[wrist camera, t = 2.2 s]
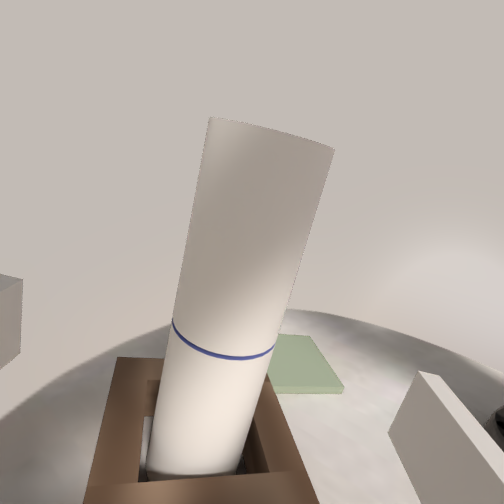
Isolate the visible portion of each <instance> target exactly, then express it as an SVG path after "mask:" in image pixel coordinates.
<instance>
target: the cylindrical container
mask: <svg viewBox="0 0 504 504" xmlns="http://www.w3.org/2000/svg"><path fill="white" fill-rule="evenodd" d="M334 152H335V149H333V148H331V147H329V146H326V145H324V144H321V143H318V142H315V141H312V140H308V139H305V138H302V137H298V136H295V135H291V134H288V133H284V132H280V131H277V130H273V129H269V128H265V127H261V126H256V125H252V124H248V123H243V122H238V121H233V120H228V119H223V118H215V117H214V118H213V117H210V118H209V122H208V128H207V133H206V138H205V144H204V149H203V155H202V161H201V166H200V171H199V177H198V182H197V187H196V193H195V198H194V203H193V209H192V214H191V220H190V225H189V231H188V236H187V242H186V247H185V252H184V257H183V263H182V268H181V274H180V279H179V284H178V290H177V295H176V300H175V306H174V311H173V318H172V322H171V327H170V333H169V338H168V344H167V349H166V354H165V360H164V365H163V371H162V376H161V382H160V387H159V392H158V398H157V403H156V409H155V414H154V419H153V425H152V430H151V436H150V441H149V446H148V452H147V457H146V472H147V477H148V480H149V482H153V481H166V480H179V479H192V478H205V477H218V476H231V475H235V474H236V471H237V467H238V464H239V461H240V458H241V454H242V451H243V448H244V445H245V441H246V438H247V435H248V431H249V428H250V425H251V422H252V418H253V415H254V412H255V409H256V405H257V402H258V399H259V396H260V392H261V389H262V386H263V383H264V379H265V376H266V373H267V370H268V366H269V363H270V360H271V357H272V353H273V350H274V347H275V344H276V340H277V337H278V334H279V331H280V327H281V324H282V321H283V318H284V314H285V311H286V308H287V304H288V301H289V298H290V295H291V291H292V288H293V285H294V282H295V279H296V275H297V272H298V269H299V265H300V262H301V259H302V256H303V253H304V249H305V246H306V242H307V239H308V236H309V233H310V230H311V226H312V223H313V220H314V217H315V213H316V210H317V207H318V204H319V200H320V197H321V194H322V191H323V187H324V184H325V181H326V178H327V174H328V171H329V168H330V165H331V161H332V158H333V155H334Z"/></svg>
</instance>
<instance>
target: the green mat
mask: <svg viewBox="0 0 504 504" xmlns="http://www.w3.org/2000/svg"><path fill="white" fill-rule="evenodd" d="M267 374H268V376H269V379H270V381H271V384H272V386H273V389H274V391H275V393H294V394H342V392H343V389H344V386H343V384H342V383H341V381H340V380H339V378H338V377H337V375H336V374H335V373H334V371H333V370H332V368H331V367H330V365H329V364H328V362H327V361H326V359H325V358H324V356H323V355H322V353H321V352H320V351H319V349H318V348H317V346H316V345H315V343H314V342H313V340H312V339H311V337H310V336H301V335H286V334H278V337H277V340H276V344H275V347H274V350H273V353H272V357H271V360H270V363H269V366H268V370H267Z"/></svg>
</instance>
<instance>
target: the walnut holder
mask: <svg viewBox="0 0 504 504" xmlns="http://www.w3.org/2000/svg"><path fill="white" fill-rule="evenodd" d="M164 360H165V359H157V358H131V357H117V361H116V365H115V369H114V374H113V378H112V382H111V386H110V391H109V395H108V399H107V403H106V408H105V412H104V416H103V420H102V425H101V429H100V433H99V437H98V442H97V446H96V450H95V454H94V459H93V463H92V467H91V471H90V475H89V480H88V484H87V488H86V492H85V497H84V501H83V504H319V501H318V499H317V496H316V494H315V491H314V489H313V486H312V484H311V481H310V479H309V476H308V474H307V471H306V469H305V466H304V464H303V461H302V459H301V456H300V454H299V451H298V449H297V446H296V444H295V441H294V439H293V436H292V434H291V431H290V429H289V426H288V424H287V421H286V419H285V416H284V414H283V411H282V409H281V406H280V404H279V401H278V399H277V396H276V394H275V391H274V389H273V386H272V384H271V381H270V379H269V376H268V374H267V373H266V376H265V379H264V383H263V386H262V389H261V392H260V396H259V399H258V402H257V405H256V409H255V412H254V415H253V418H252V422H251V425H250V428H249V431H248V435H247V438H246V441H245V445H244V448H243V451H242V454H243V458H244V462H245V467H246V471H247V474H245V475H231V476H218V477H205V478H192V479H179V480H166V481H153V482H140V483H138V475H139V464H140V454H141V443H142V432H143V422H144V416H154V414H155V409H156V403H157V398H158V392H159V387H160V382H161V376H162V371H163V365H164Z"/></svg>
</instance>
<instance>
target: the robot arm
mask: <svg viewBox="0 0 504 504" xmlns="http://www.w3.org/2000/svg"><path fill="white" fill-rule="evenodd" d="M22 293H23V279H19V278H15V277H11V276H6V275H2V274H0V369H2V368H3V367H4V366H5V365H6V364H8V363H9V362H10V361H11V360H12V359H14V358H15V357H16V356H17V355H18V354H19V353H20V342H21V319H22V317H21V316H22ZM388 435H389V437H390V439H391V441H392V443H393V445H394V447H395V449H396V451H397V453H398V456H399V458H400V460H401V462H402V464H403V466H404V468H405V470H406V472H407V474H408V477H409V479H410V481H411V483H412V485H413V487H414V489H415V491H416V493H417V495H418V497H419V500H420V502H421V504H504V406H502V407H500V408H499V409H497V410H496V411H495V412H494V413H493V414H492V415H491V417H490V419H489V420H488V422H487V423H486V425H485V427H484V428H483V427H482V426H481V425H480V424H479V422H478V421H477V420H476V419H475V418H474V416H473V415H472V414H471V413H470V412H469V410H468V409H467V408H466V407H465V406H464V404H463V403H462V402H461V401H460V400H459V398H458V397H457V396H456V395H455V394H454V393H453V391H452V390H451V389H450V388H449V387H448V385H447V384H446V383H445V382H444V381H443V379H442V378H441V377H440V376H439V375H435V374H431V373H426V372H422V371H418V372H417V374H416V376H415V378H414V380H413V382H412V384H411V386H410V388H409V390H408V392H407V394H406V396H405V398H404V400H403V402H402V404H401V406H400V408H399V410H398V413H397V415H396V417H395V419H394V421H393V423H392V425H391V427H390V429H389V431H388Z"/></svg>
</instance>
